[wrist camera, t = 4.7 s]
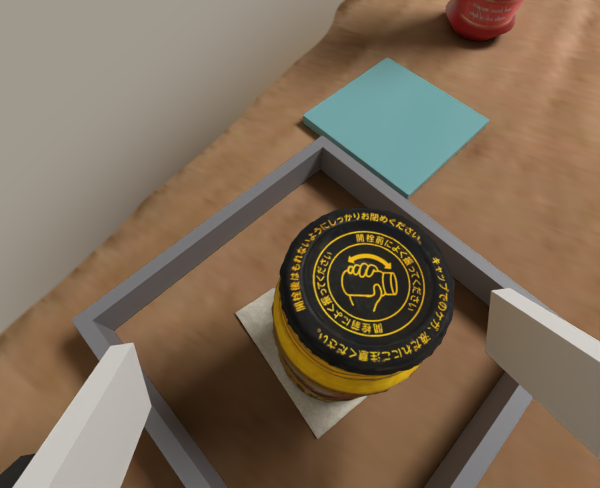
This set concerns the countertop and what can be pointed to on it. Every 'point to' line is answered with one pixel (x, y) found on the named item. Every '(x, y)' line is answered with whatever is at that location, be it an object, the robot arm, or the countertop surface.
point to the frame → (237, 216)
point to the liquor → (482, 17)
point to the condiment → (352, 311)
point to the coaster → (396, 125)
